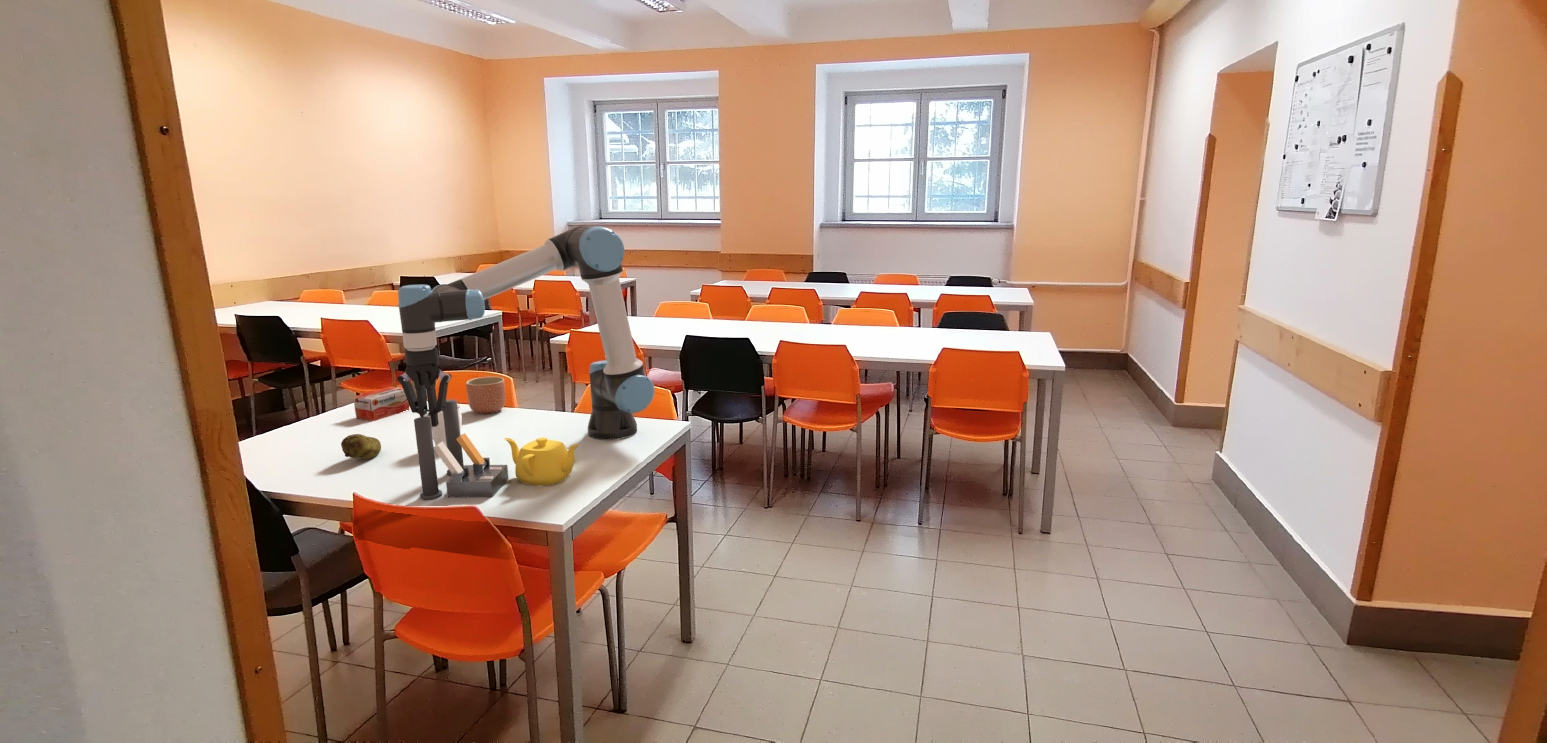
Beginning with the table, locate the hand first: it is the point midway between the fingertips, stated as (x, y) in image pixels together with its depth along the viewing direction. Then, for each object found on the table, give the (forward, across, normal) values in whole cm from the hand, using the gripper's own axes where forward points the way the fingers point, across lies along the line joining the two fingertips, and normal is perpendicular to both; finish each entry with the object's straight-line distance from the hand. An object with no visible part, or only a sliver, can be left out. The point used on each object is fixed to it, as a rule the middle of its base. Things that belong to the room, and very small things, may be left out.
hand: (431, 438), depth 192 cm
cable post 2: (+12, -2, -8) cm, 15 cm away
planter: (+13, +11, -67) cm, 69 cm away
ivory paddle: (+7, -9, +6) cm, 13 cm away
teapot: (+13, -26, -3) cm, 29 cm away
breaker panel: (+12, -12, +3) cm, 18 cm away
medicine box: (+13, +46, -65) cm, 80 cm away
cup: (+13, +9, -29) cm, 33 cm away
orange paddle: (+7, -12, 0) cm, 14 cm away
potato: (+13, +29, -20) cm, 37 cm away
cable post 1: (+12, -2, +8) cm, 15 cm away
